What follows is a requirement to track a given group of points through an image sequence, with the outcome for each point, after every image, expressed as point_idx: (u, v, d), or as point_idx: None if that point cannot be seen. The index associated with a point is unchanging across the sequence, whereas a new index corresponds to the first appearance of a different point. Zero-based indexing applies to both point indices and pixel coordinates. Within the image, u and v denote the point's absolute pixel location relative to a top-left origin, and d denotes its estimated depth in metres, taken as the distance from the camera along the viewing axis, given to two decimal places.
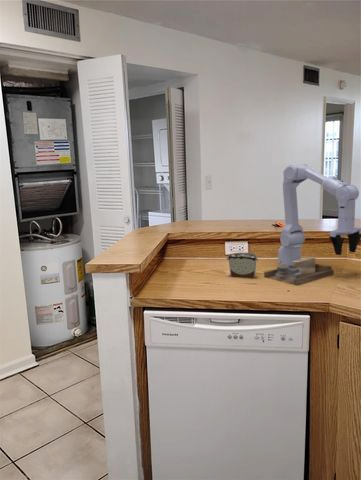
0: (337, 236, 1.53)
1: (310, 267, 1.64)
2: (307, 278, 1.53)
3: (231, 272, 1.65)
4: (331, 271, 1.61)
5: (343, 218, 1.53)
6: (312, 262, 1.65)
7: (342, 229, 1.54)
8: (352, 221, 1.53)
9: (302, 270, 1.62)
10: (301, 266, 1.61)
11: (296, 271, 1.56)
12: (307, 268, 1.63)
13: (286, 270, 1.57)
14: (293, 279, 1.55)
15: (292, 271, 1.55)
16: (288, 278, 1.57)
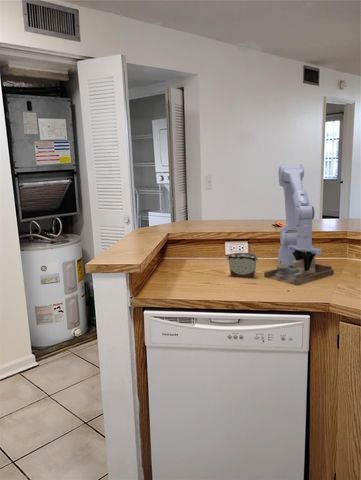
0: (296, 251, 1.65)
1: (310, 267, 1.64)
2: (307, 278, 1.53)
3: (231, 272, 1.65)
4: (331, 271, 1.61)
5: None
6: (312, 262, 1.65)
7: None
8: (299, 239, 1.60)
9: (302, 270, 1.62)
10: (301, 266, 1.61)
11: (296, 271, 1.56)
12: None
13: (286, 270, 1.57)
14: (293, 279, 1.55)
15: (292, 271, 1.55)
16: (288, 278, 1.57)
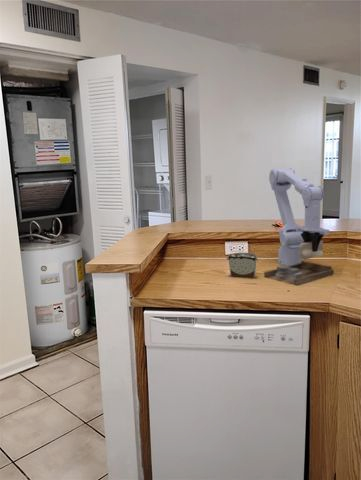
0: (304, 232, 1.66)
1: (318, 250, 1.66)
2: (307, 278, 1.53)
3: (231, 272, 1.65)
4: (331, 271, 1.61)
5: None
6: (320, 245, 1.66)
7: None
8: (307, 220, 1.62)
9: (310, 252, 1.63)
10: (309, 248, 1.62)
11: (296, 271, 1.56)
12: None
13: (286, 270, 1.57)
14: (293, 279, 1.55)
15: (292, 271, 1.55)
16: (288, 278, 1.57)
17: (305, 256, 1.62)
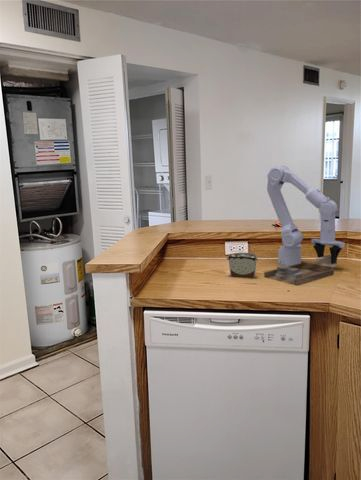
0: (316, 244, 1.74)
1: (333, 264, 1.73)
2: (307, 278, 1.53)
3: (231, 272, 1.65)
4: (331, 271, 1.61)
5: None
6: None
7: None
8: (323, 233, 1.68)
9: None
10: (324, 263, 1.69)
11: (296, 271, 1.56)
12: (330, 264, 1.72)
13: (286, 270, 1.57)
14: (293, 279, 1.55)
15: (292, 271, 1.55)
16: (288, 278, 1.57)
17: None
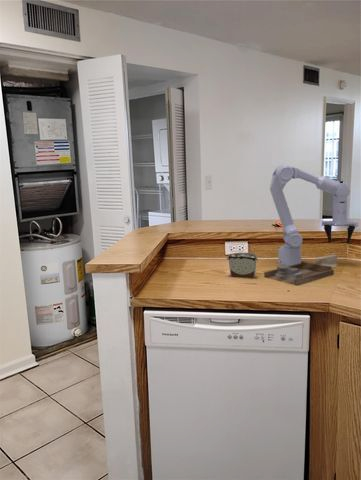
0: (325, 226, 1.80)
1: (333, 264, 1.73)
2: (307, 278, 1.53)
3: (231, 272, 1.65)
4: (331, 271, 1.61)
5: None
6: (334, 259, 1.73)
7: None
8: (338, 214, 1.74)
9: None
10: (324, 263, 1.69)
11: (296, 271, 1.56)
12: (330, 264, 1.72)
13: (286, 270, 1.57)
14: (293, 279, 1.55)
15: (292, 271, 1.55)
16: (288, 278, 1.57)
17: None
